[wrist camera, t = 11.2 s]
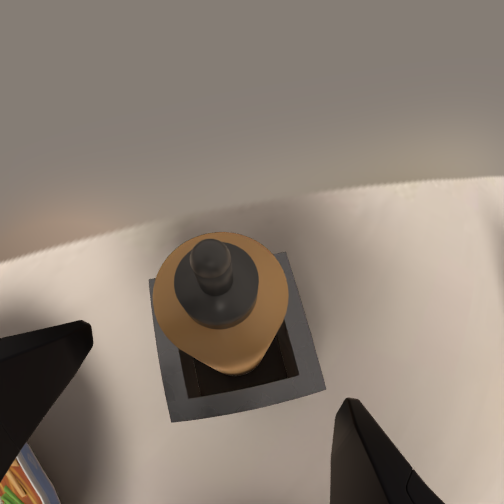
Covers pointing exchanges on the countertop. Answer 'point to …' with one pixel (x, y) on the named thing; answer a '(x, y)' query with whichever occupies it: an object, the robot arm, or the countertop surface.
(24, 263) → the countertop surface
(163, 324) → the plug
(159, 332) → the grey square open block
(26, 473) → the ramen bowl
